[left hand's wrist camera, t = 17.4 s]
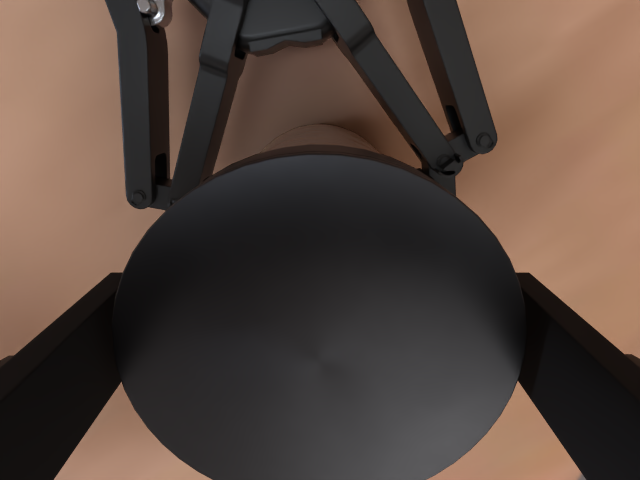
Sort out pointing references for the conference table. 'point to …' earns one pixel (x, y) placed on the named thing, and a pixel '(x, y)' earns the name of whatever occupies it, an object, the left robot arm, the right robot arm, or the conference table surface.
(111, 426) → the conference table surface
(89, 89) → the conference table surface
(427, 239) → the lid
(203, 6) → the right robot arm
